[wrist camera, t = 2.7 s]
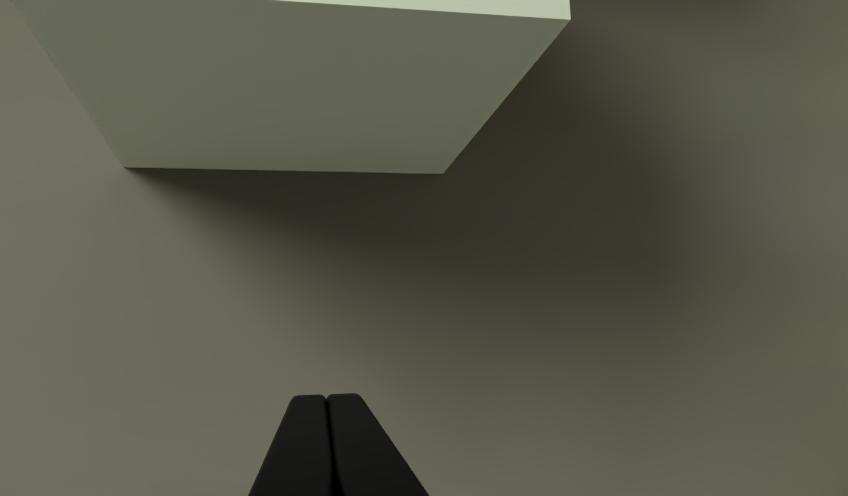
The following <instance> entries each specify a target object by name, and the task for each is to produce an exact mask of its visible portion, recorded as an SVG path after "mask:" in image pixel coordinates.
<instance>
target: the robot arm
mask: <svg viewBox="0 0 848 496" xmlns="http://www.w3.org/2000/svg"><path fill="white" fill-rule="evenodd" d="M248 496H429V495H428V493H427V492H426V490H425V489H424V487H423V486H422V484H421V483H420V481H419V480H418V479H417V477H416V476H415V474H414V473H413V471H412V470H411V468H410V467H409V465H408V464H407V463H406V461H405V460H404V458H403V457H402V455H401V454H400V452H399V451H398V450H397V448H396V447H395V445H394V444H393V442H392V441H391V439H390V438H389V436H388V435H387V434H386V432H385V431H384V429H383V428H382V426H381V425H380V423H379V422H378V421H377V419H376V418H375V416H374V415H373V413H372V412H371V410H370V409H369V407H368V406H367V405H366V403H365V402H364V400H363V399H362V398H361V396H360V395H358V394H355V393H349V394H331V395H329V396H328V397H327V398H325V397H324V396H323V395H297V396H294V397H293V398H292V399H291V401H290V403H289V405H288V408H287V410H286V412H285V414H284V417H283V419H282V421H281V423H280V426H279V428H278V430H277V432H276V434H275V437H274V439H273V441H272V443H271V446H270V448H269V450H268V452H267V455H266V457H265V459H264V461H263V464H262V466H261V468H260V470H259V473H258V475H257V477H256V479H255V482H254V484H253V486H252V488H251V491H250V493H249V495H248Z"/></svg>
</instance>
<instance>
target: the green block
mask: <svg viewBox="0 0 848 496" xmlns="http://www.w3.org/2000/svg"><path fill="white" fill-rule="evenodd" d="M11 1H12V3H13V4H14V5H15V7H16V8H17V10H18V11H19V13H20V14H21V16H22V17H23V19H24V20H25V22H26V23H27V25H28V26H29V28H30V29H31V31H32V32H33V34H34V35H35V37H36V38H37V40H38V41H39V42H40V44H41V45H42V47H43V48H44V50H45V51H46V53H47V54H48V56H49V57H50V59H51V60H52V62H53V63H54V65H55V66H56V68H57V69H58V71H59V72H60V74H61V75H62V77H63V78H64V79H65V81H66V82H67V84H68V85H69V87H70V88H71V90H72V91H73V93H74V94H75V96H76V97H77V99H78V100H79V102H80V103H81V105H82V106H83V108H84V109H85V111H86V112H87V114H88V115H89V116H90V118H91V119H92V121H93V122H94V124H95V125H96V127H97V128H98V130H99V131H100V133H101V134H102V136H103V137H104V139H105V140H106V142H107V143H108V145H109V146H110V148H111V149H112V151H113V152H114V153H115V155H116V156H117V158H118V159H119V161H120V162H121V164H122V165H123V167H136V168H184V169H232V170H280V171H328V172H376V173H424V174H443V173H444V172H445V171H446V170H447V168H448V167H449V166H450V165H451V164H452V162H453V161H454V160H455V159H456V157H457V156H458V155H459V154H460V153H461V151H462V150H463V149H464V148H465V147H466V145H467V144H468V143H469V142H470V141H471V139H472V138H473V137H474V136H475V135H476V133H477V132H478V131H479V130H480V129H481V127H482V126H483V125H484V124H485V123H486V121H487V120H488V119H489V118H490V116H491V115H492V114H493V113H494V112H495V110H496V109H497V108H498V107H499V106H500V104H501V103H502V102H503V101H504V100H505V98H506V97H507V96H508V95H509V94H510V92H511V91H512V90H513V89H514V88H515V86H516V85H517V84H518V83H519V81H520V80H521V79H522V78H523V77H524V75H525V74H526V73H527V72H528V71H529V69H530V68H531V67H532V66H533V65H534V63H535V62H536V61H537V60H538V59H539V57H540V56H541V55H542V54H543V53H544V51H545V50H546V49H547V48H548V46H549V45H550V44H551V43H552V42H553V40H554V39H555V38H556V37H557V36H558V34H559V33H560V32H561V31H562V30H563V28H564V27H565V26H566V25H567V24H568V22H569V21H570V20H571V17H570V3H569V0H11Z"/></svg>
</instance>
